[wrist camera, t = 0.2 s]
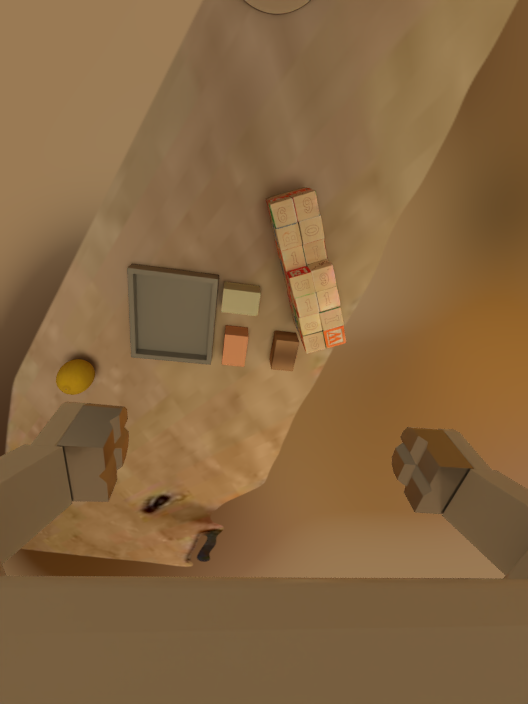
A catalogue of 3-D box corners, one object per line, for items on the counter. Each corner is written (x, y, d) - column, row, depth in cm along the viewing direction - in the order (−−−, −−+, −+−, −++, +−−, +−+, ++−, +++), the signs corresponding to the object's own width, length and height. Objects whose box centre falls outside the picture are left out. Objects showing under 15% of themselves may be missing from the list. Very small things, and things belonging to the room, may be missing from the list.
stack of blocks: (264, 198, 50) (271, 205, 39) (304, 186, 50) (322, 190, 39) (294, 322, 60) (306, 355, 50) (327, 313, 60) (347, 344, 49)
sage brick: (224, 281, 56) (223, 288, 52) (259, 285, 57) (260, 293, 53) (222, 303, 58) (221, 311, 54) (256, 307, 58) (257, 316, 55)
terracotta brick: (225, 324, 60) (225, 334, 56) (247, 327, 60) (248, 336, 57) (222, 353, 62) (221, 364, 59) (243, 355, 63) (244, 366, 59)
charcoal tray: (131, 263, 53) (127, 267, 51) (218, 275, 55) (218, 279, 53) (134, 350, 61) (131, 357, 58) (211, 357, 62) (210, 364, 60)
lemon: (104, 376, 63) (87, 401, 56) (74, 378, 62) (54, 404, 55) (96, 350, 60) (77, 374, 53) (65, 352, 60) (42, 376, 53)
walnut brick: (274, 330, 61) (276, 339, 57) (295, 332, 61) (299, 342, 58) (269, 358, 64) (271, 369, 60) (289, 360, 64) (292, 371, 61)
